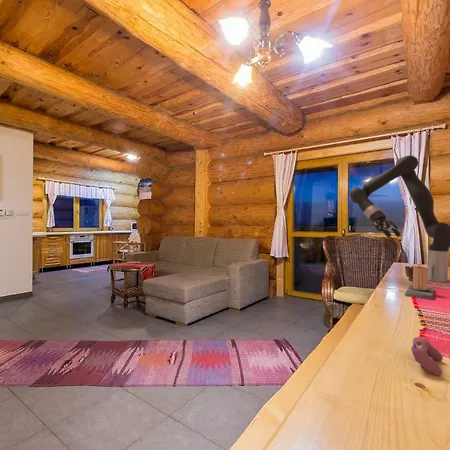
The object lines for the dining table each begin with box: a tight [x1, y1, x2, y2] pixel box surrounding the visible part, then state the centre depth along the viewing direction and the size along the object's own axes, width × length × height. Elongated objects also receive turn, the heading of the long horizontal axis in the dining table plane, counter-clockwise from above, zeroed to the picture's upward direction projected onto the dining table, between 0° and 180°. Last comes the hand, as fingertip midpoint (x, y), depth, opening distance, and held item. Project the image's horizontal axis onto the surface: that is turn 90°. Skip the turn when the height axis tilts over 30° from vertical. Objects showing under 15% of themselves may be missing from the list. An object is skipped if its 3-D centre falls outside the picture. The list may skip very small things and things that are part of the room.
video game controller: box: [410, 336, 444, 377], centre depth 67 cm, size 10×5×7 cm, turn 142°
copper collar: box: [412, 266, 429, 290], centre depth 133 cm, size 6×6×10 cm
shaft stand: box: [404, 284, 435, 301], centre depth 133 cm, size 20×10×11 cm, turn 142°
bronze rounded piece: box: [404, 265, 417, 282], centre depth 161 cm, size 8×7×8 cm
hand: (394, 236), depth 149 cm, fingers open, 8 cm apart
